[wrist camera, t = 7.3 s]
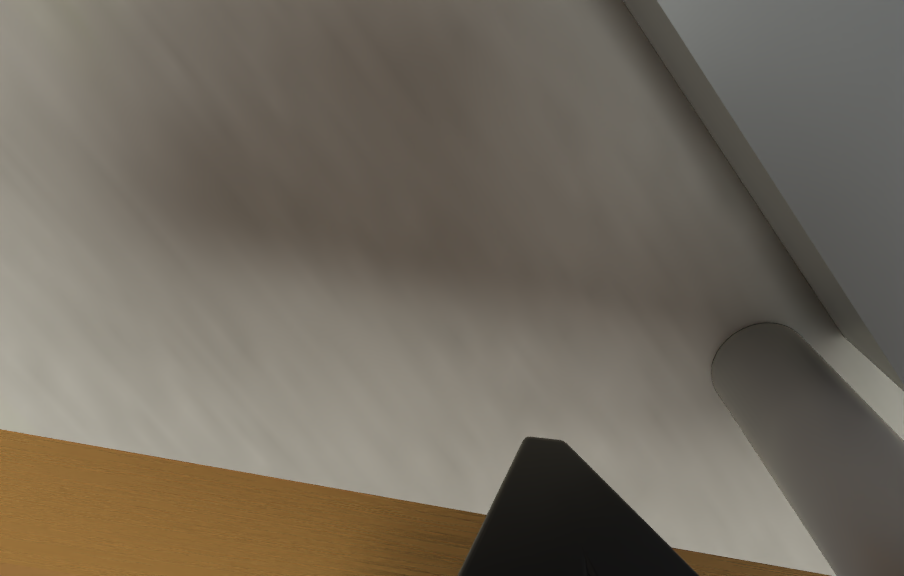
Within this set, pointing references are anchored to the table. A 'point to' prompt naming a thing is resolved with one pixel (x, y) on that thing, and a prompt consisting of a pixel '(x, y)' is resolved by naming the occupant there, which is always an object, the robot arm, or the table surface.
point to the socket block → (811, 239)
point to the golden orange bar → (224, 522)
